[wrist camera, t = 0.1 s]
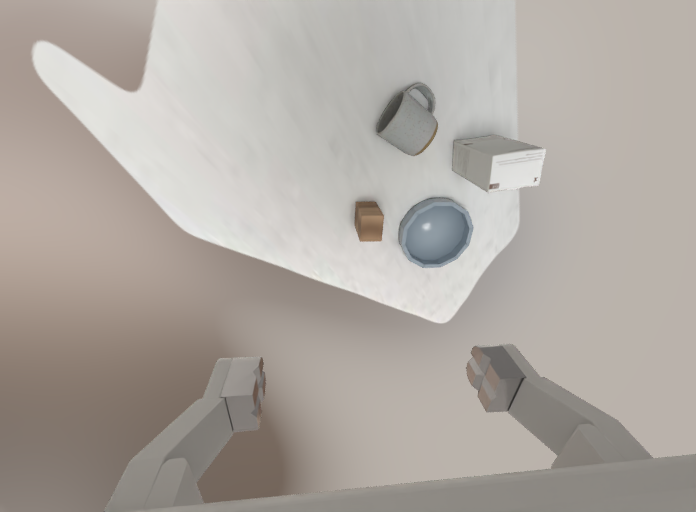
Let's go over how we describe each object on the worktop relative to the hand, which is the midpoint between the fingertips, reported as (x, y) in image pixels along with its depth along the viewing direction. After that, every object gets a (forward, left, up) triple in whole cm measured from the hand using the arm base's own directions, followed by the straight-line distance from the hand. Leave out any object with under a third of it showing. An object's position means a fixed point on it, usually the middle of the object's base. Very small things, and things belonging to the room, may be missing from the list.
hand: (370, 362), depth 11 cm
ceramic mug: (-7, +14, -48) cm, 51 cm away
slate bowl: (+15, +23, -48) cm, 55 cm away
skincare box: (-1, +28, -48) cm, 56 cm away
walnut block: (+11, +8, -48) cm, 50 cm away
